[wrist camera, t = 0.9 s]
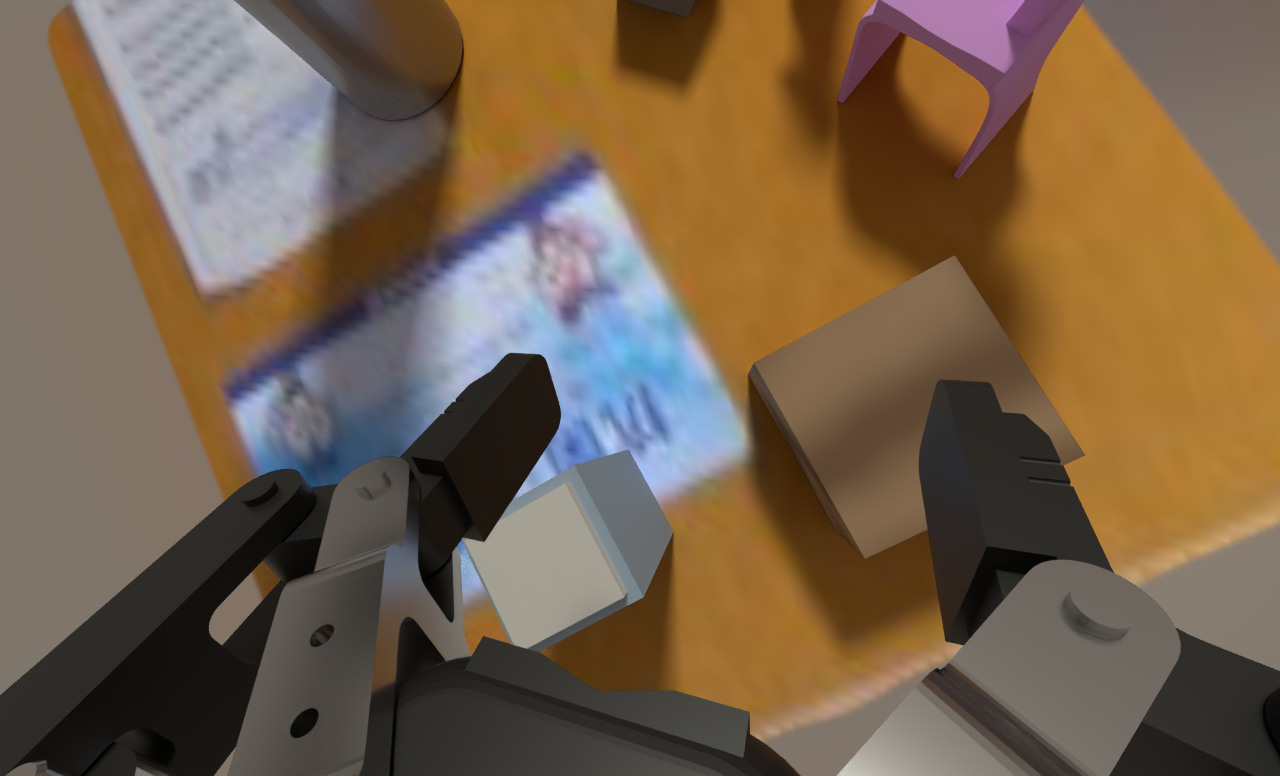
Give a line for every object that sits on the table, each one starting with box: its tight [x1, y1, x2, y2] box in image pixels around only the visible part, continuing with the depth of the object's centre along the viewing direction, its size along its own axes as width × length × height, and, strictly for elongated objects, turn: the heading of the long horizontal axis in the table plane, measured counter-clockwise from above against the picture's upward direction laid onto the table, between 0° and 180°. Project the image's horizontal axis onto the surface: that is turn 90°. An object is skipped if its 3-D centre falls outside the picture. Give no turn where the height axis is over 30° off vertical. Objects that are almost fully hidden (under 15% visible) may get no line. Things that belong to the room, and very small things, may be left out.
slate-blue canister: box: [462, 450, 673, 652], centre depth 24 cm, size 6×6×12 cm
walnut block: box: [748, 255, 1085, 559], centre depth 25 cm, size 10×10×6 cm
